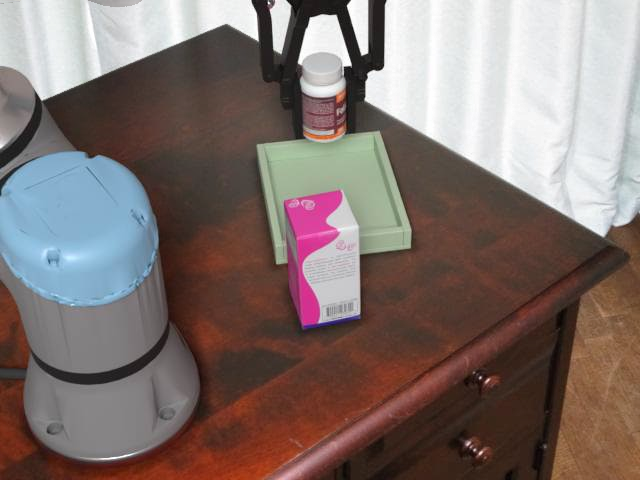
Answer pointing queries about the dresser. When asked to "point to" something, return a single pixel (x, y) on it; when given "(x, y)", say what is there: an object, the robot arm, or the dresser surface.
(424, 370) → the dresser surface
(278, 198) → the tray
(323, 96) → the pill bottle
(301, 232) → the supplement box
